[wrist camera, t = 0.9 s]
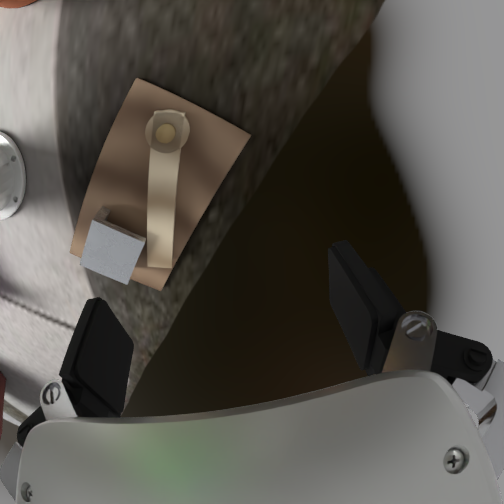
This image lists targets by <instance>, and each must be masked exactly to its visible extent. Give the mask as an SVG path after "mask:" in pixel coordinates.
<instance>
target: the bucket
mask: <svg viewBox="0 0 504 504" xmlns="http://www.w3.org/2000/svg"><path fill="white" fill-rule="evenodd" d="M5 384H6V378H5V377H4V375H3V374H2V373H1V371H0V439H1V434H2V420H3V404H4V393H5Z"/></svg>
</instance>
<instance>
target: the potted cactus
mask: <svg viewBox="0 0 504 504" xmlns="http://www.w3.org/2000/svg"><path fill="white" fill-rule="evenodd" d="M34 1H36V0H0V7H4V8H19V7H23V6H26V5H28V4H30V3H32V2H34Z"/></svg>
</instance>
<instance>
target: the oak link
mask: <svg viewBox="0 0 504 504" xmlns="http://www.w3.org/2000/svg"><path fill="white" fill-rule="evenodd" d="M185 114H186V112H180V111H178V110H175V109H166V110H157V111H154V116H153V117H151V119H150V120H149V121H148V123H147V125H146V129H145V137H146V140H147V142H148V144H149V145H150V147H151V148H150V162H149V178H148V203H147V263H148V267H160V268H172V262H173V242H174V223H175V208H176V195H177V183H178V172H179V162H180V153H181V147H182V146H183V145H184V144H185V143H186V141H187V139H188V136H189V133H190V124H189V121H188V119H187V117H186V116H185Z"/></svg>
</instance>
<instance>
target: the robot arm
mask: <svg viewBox="0 0 504 504" xmlns="http://www.w3.org/2000/svg"><path fill="white" fill-rule="evenodd" d="M25 187H26V173H25V166H24V162H23V158H22V156H21V153H20V151H19V149H18V147H17V145H16V144H15V143H14V141H13V140H12V139H11V138H10V137H9V136H8V135H6V134H4V133H2V132H0V220H4V219H7V218H8V217H10V216H11V215H12V214H13V213H15V211H16V210H17V209H18V208H19V206H20V204H21V202H22V200H23V197H24V193H25ZM328 260H329V290H330V303H331V306H332V308H333V310H334V313H335V315H336V317H337V319H338V321H339V323H340V325H341V327H342V330H343V332H344V334H345V336H346V338H347V341H348V343H349V345H350V347H351V349H352V351H353V354H354V356H355V358H356V361H357V363H358V365H359V367H360V369H361V370H364V369H365V370H366V372H367V375H368V376H367V377H364V378H360V379H357V380H353V381H349V382H346V383H343V384H339V385H336V386H332V387H329V388H325V389H321V390H317V391H313V392H309V393H305V394H302V395H297V396H293V397H289V398H285V399H281V400H276V401H271V402H266V403H261V404H256V405H250V406H244V407H238V408H232V409H226V410H219V411H211V412H203V413H194V414H184V415H172V416H158V417H134V418H133V417H130V418H120V415H121V413H122V412H123V409H124V402H125V396H126V389H127V383H128V377H129V371H130V365H131V359H132V354H133V349H134V344H133V341H132V339H131V338H130V337H129V335H128V334H127V332H126V331H125V329H124V328H123V327H122V325H121V324H120V322H119V321H118V319H117V318H116V316H115V315H114V313H113V312H112V310H111V309H110V307H109V306H108V304H107V302H106V301H105V300H102V299H101V298H100V297H97V298H93V299H89V300H87V302H86V304H85V306H84V308H83V311H82V313H81V316H80V318H79V321H78V323H77V326H76V328H75V331H74V333H73V336H72V338H71V341H70V344H69V346H68V349H67V352H66V355H65V358H64V361H63V364H62V367H61V370H60V373H59V375H60V376H61V377H62V381H60V380H58V379H54V380H51V381H49V382H47V383H46V384H45V385H44V387H43V388H42V390H41V393H40V403H41V406H40V407H39V408H38V409H37V410H36V411H35V412H33V413H32V414H31V415H30V416H29V417H28V418H27V419H26V420H25V421H24V422H23V423H22V424H21V425H20V426H19V428H18V433H17V439H18V443H17V442H15V443H14V445H13V447H12V449H11V450H10V452H9V453H8V455H7V457H6V459H5V460H4V462H3V464H2V465H1V468H0V478H1V481H2V483H3V484H4V486H5V487H6V489H7V490H8V492H9V493H10V495H11V496H12V497H13V499H14V500H15V502H16V504H503V501H502V497H501V493H500V489H499V486H498V482H497V480H498V478H499V476H500V475H501V473H502V471H503V469H504V362H502V361H501V360H499V359H498V360H497V362H496V361H494V360H493V358H492V354H491V351H490V350H489V349H488V347H487V346H485V345H484V344H483V343H480V342H478V341H474V340H470V339H467V338H463V337H460V336H456V335H452V334H449V333H446V332H442V331H439V330H437V325H436V322H435V320H434V319H433V318H432V317H431V316H430V315H428V314H427V313H424V312H421V311H411V312H407V313H406V312H405V310H404V309H403V307H402V306H401V304H400V303H399V302H398V300H397V299H396V297H395V296H394V294H393V293H392V292H391V290H390V289H389V287H388V286H387V285H386V283H385V282H384V280H383V279H382V278H381V276H380V275H379V274H378V272H377V271H376V270H375V269H374V268H367V266H366V265H365V263H364V262H363V261H362V259H361V258H360V257H359V255H358V254H357V253H356V251H355V250H354V249H353V247H352V246H351V245H350V243H349V242H348V241H347V240H344V241H340V242H336V243H333V244H332V247H331V248H329V249H328ZM373 374H376V375H373ZM370 375H372V376H370ZM464 402H465V403H466V404H468V405H469V406H468V408H469V409H471V410H472V411H473V412H474V413H475V414H476V415H477V417H478V420H479V426H478V429H477V427H476V425H475V423H474V421H473V419H472V417H471V415H470V413H469V411H468V409H467V407H466V406H465V404H464Z"/></svg>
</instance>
